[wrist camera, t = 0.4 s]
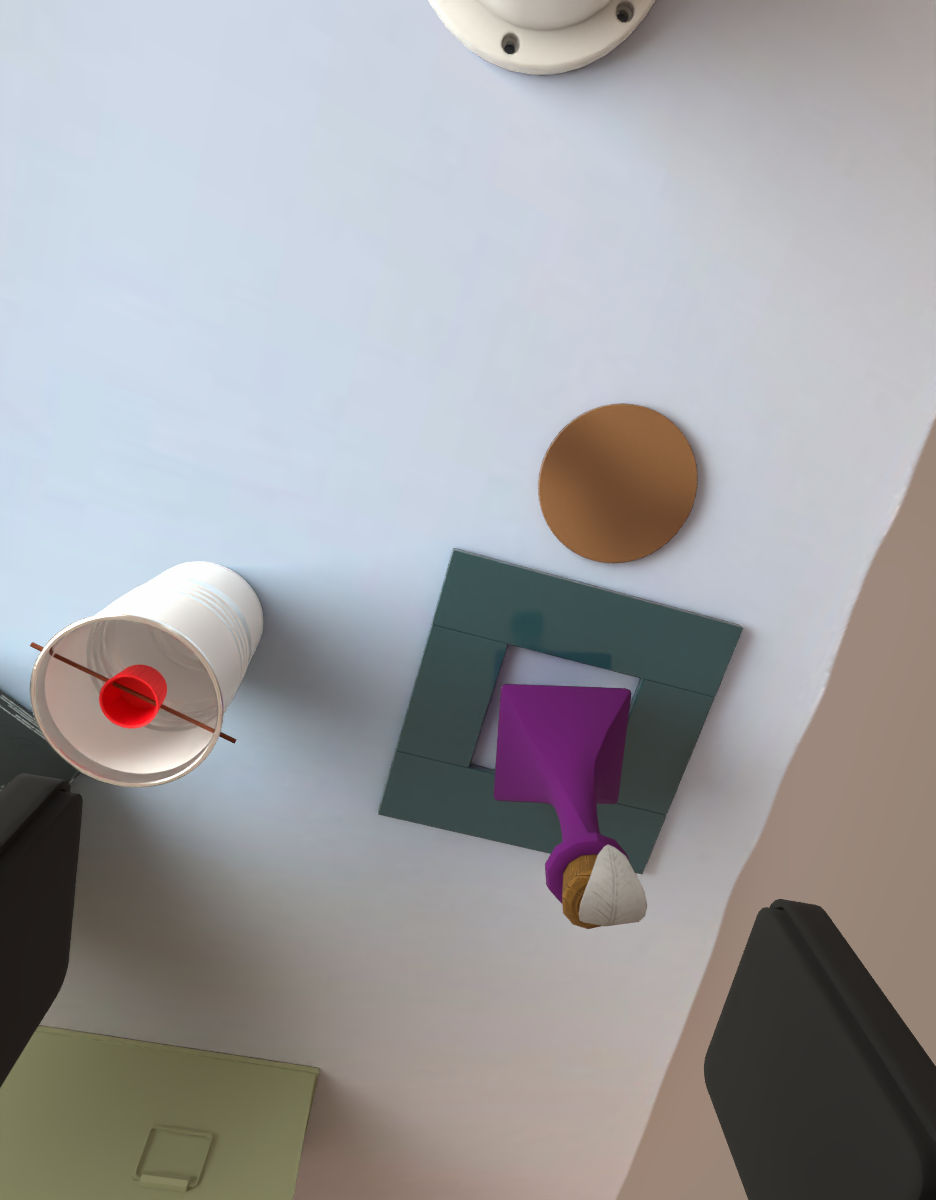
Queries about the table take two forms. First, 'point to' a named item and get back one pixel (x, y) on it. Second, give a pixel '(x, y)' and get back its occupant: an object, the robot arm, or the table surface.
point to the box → (26, 747)
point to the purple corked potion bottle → (572, 790)
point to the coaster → (617, 483)
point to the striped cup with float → (148, 676)
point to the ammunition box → (149, 1122)
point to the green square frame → (568, 630)
